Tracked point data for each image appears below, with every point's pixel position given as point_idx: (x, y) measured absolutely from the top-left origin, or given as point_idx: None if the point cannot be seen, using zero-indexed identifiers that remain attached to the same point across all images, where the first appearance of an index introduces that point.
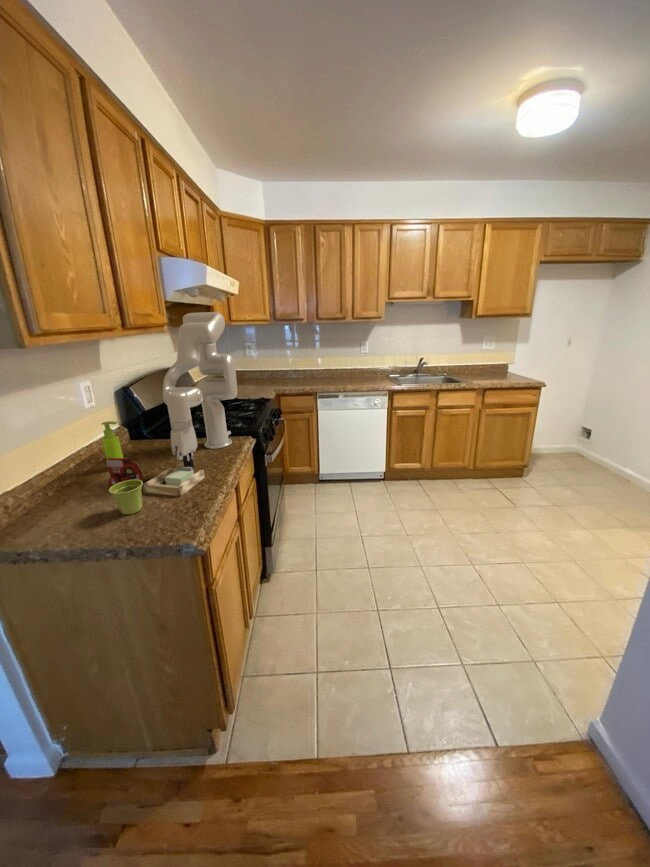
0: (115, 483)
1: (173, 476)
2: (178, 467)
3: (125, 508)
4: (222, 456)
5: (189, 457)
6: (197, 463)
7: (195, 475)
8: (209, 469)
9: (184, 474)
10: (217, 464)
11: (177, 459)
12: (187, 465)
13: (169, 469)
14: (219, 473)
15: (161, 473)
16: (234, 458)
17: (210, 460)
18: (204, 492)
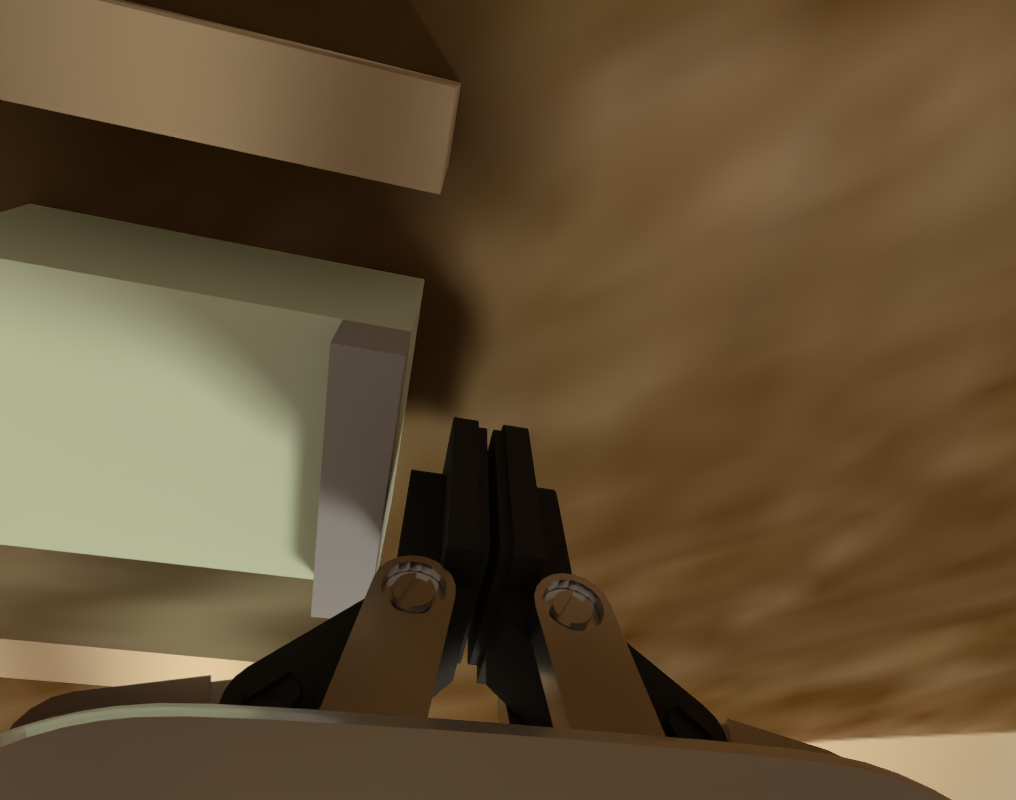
0: None
1: (24, 401)
2: (330, 402)
3: None
4: (1001, 603)
5: (503, 687)
6: (877, 384)
7: (169, 679)
8: (604, 591)
9: (164, 541)
10: (744, 622)
11: (26, 720)
12: (397, 555)
13: (331, 148)
14: (480, 699)
15: (46, 29)
16: (868, 713)
17: (922, 517)
18: (30, 708)
